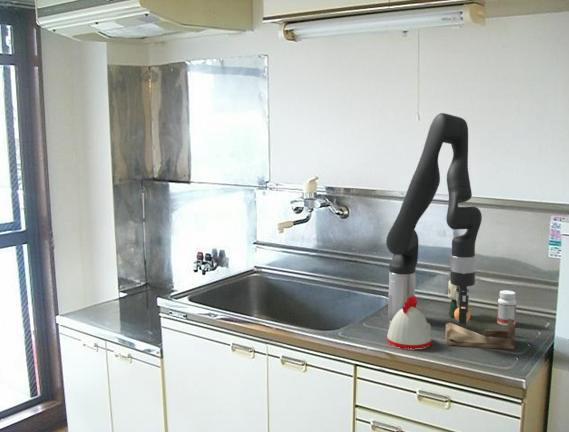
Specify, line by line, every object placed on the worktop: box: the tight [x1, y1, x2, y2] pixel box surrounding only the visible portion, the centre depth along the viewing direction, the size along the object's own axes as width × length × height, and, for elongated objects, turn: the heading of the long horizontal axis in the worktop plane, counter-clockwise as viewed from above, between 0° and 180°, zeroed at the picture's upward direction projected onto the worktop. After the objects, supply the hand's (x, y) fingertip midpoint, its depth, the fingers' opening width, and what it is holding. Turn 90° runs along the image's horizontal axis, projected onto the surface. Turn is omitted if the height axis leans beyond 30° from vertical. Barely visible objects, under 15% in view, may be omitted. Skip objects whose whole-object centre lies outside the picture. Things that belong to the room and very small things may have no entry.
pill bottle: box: [496, 289, 517, 327], centre depth 218 cm, size 6×6×11 cm
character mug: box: [447, 279, 470, 317], centre depth 227 cm, size 11×7×13 cm, turn 151°
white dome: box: [386, 295, 432, 349], centre depth 200 cm, size 14×14×15 cm
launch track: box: [445, 319, 516, 350], centre depth 200 cm, size 20×9×9 cm, turn 78°
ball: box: [453, 307, 471, 323], centre depth 200 cm, size 5×5×5 cm
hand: (461, 321), depth 201 cm, fingers closed on ball, 5 cm apart
